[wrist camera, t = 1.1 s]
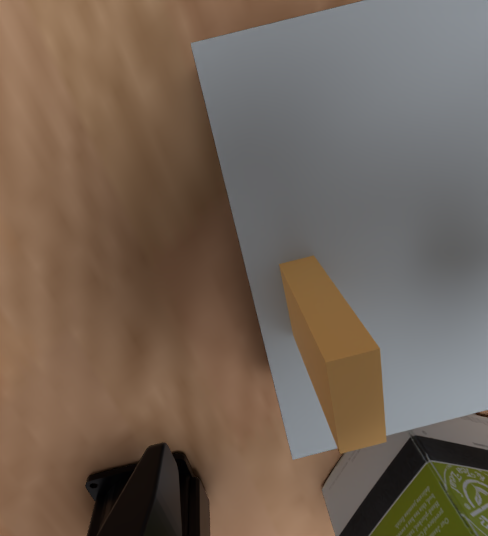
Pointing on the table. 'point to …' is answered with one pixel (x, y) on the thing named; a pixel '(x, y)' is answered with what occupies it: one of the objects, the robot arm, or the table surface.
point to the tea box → (414, 483)
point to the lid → (361, 210)
